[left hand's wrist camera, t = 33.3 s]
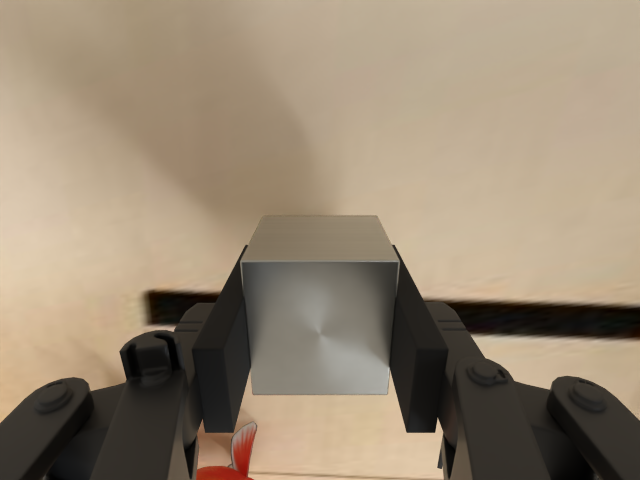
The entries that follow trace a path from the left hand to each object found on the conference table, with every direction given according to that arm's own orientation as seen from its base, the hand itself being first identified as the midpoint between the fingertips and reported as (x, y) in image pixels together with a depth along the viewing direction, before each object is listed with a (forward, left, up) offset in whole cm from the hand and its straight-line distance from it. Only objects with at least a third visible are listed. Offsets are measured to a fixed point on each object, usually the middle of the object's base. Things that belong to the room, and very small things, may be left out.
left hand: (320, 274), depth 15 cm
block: (0, 0, 0) cm, 0 cm away
